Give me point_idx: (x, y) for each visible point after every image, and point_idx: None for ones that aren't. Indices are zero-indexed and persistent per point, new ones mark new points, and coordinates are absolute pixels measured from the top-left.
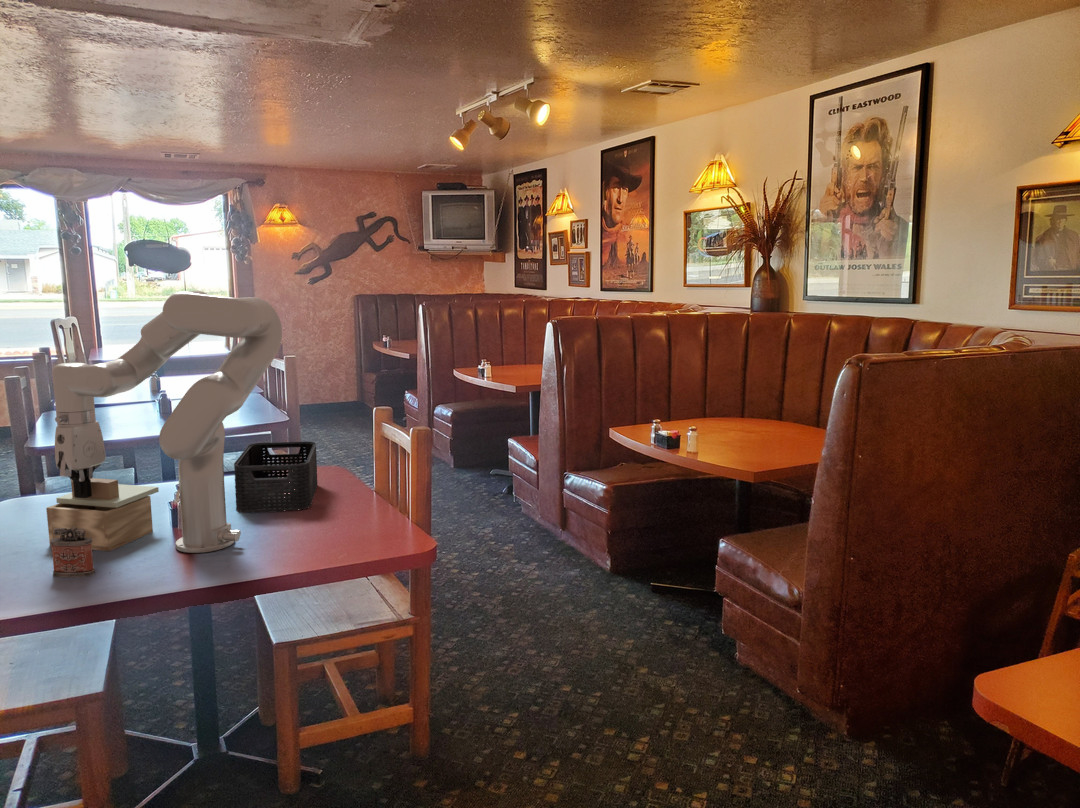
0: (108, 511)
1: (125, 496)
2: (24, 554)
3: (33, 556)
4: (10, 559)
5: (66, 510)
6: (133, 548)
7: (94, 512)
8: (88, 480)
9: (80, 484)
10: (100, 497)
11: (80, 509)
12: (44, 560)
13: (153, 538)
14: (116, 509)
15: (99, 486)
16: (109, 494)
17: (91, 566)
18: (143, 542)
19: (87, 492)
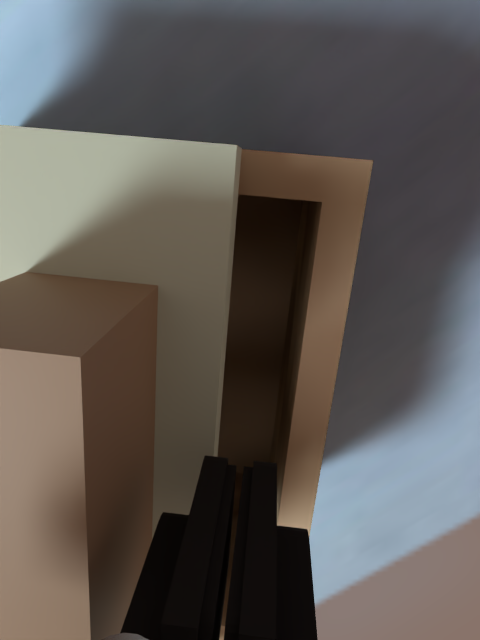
0: (329, 172)
1: (4, 206)
2: (397, 506)
3: (420, 461)
4: (458, 518)
5: (310, 525)
6: (270, 59)
7: (349, 294)
8: (197, 627)
9: (310, 638)
10: (152, 390)
11: (297, 442)
12: (472, 388)
13: (96, 57)
14: (243, 149)
15: (110, 462)
16: (136, 299)
17: None
18: (168, 71)
19: (258, 494)
